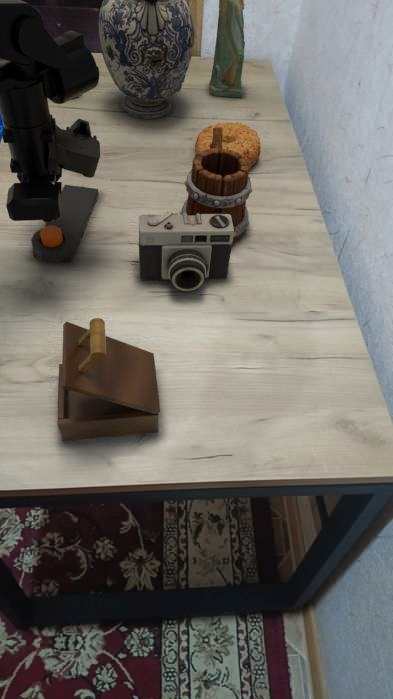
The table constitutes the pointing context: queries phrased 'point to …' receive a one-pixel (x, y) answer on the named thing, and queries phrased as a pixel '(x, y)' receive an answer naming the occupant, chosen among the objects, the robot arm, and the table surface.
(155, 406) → the lid
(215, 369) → the table surface
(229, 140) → the bagel
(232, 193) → the mug
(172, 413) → the table surface
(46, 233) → the button
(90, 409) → the chest
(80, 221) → the block
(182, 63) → the decorative vase
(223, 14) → the statue
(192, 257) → the camera
